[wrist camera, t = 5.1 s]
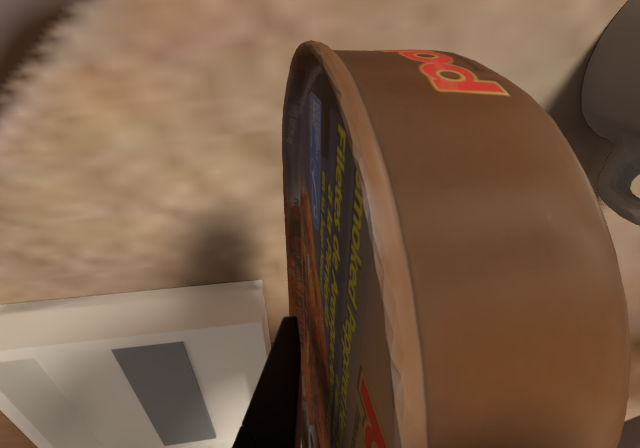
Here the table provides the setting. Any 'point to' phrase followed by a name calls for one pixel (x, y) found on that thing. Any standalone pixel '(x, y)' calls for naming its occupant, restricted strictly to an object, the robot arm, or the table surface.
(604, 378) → the tin
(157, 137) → the table surface
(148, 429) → the tray
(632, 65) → the coffee mug
